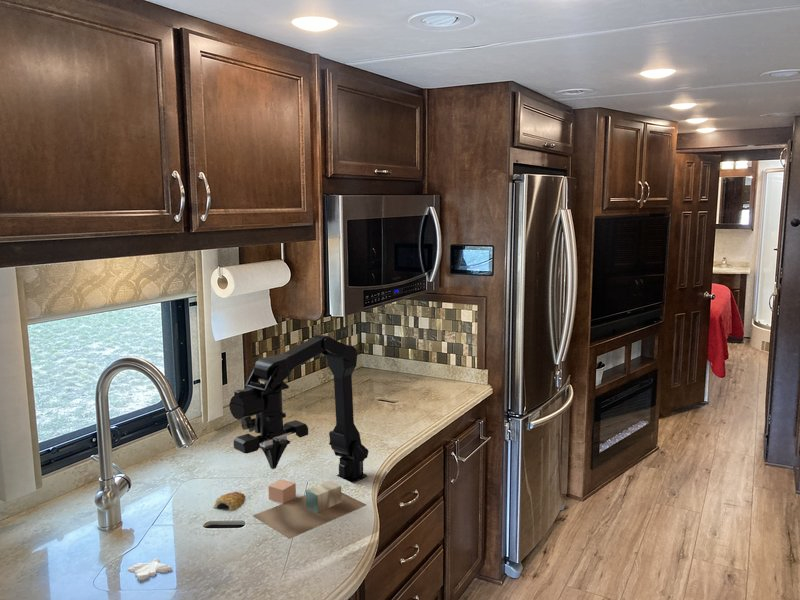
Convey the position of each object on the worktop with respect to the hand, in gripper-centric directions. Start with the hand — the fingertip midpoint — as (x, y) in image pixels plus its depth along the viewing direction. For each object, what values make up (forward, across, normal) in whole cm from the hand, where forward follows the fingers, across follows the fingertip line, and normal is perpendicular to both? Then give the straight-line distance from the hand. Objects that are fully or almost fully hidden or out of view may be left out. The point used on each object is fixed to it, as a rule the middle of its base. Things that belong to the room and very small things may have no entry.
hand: (273, 468), depth 162 cm
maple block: (+8, -6, +7) cm, 13 cm away
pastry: (+12, +6, -12) cm, 18 cm away
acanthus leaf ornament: (+13, +34, +3) cm, 36 cm away
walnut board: (+12, -6, +7) cm, 15 cm away
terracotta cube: (+12, -5, -4) cm, 14 cm away
